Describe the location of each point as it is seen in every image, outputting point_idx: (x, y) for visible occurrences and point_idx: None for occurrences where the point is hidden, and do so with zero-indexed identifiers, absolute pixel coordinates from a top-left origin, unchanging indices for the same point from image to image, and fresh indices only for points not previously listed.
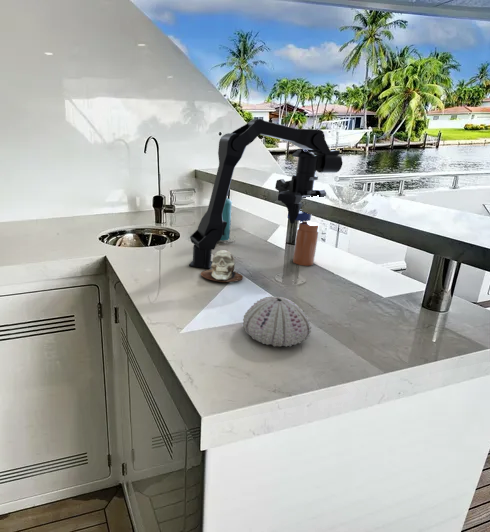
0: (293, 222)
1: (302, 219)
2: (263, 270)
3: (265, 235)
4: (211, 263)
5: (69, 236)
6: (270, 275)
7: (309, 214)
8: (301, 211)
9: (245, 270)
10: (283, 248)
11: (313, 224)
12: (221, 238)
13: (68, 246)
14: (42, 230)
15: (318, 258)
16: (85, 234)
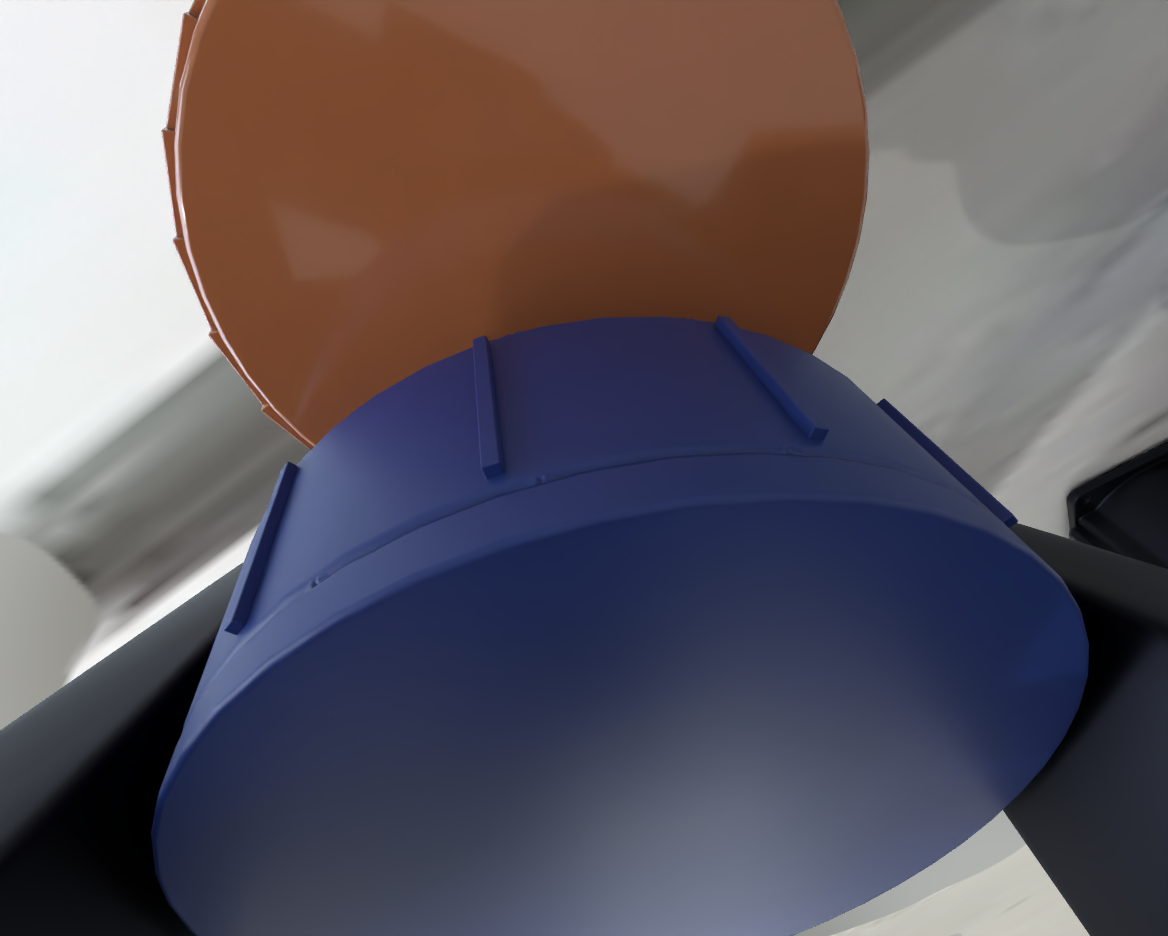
0: None
1: (891, 412)
2: (1036, 182)
3: None
4: (1124, 477)
5: (1020, 886)
6: (1154, 29)
7: (709, 464)
8: (590, 840)
9: (1112, 273)
10: None
11: (548, 54)
12: None
13: None
14: (1007, 929)
15: (101, 72)
16: (965, 896)
